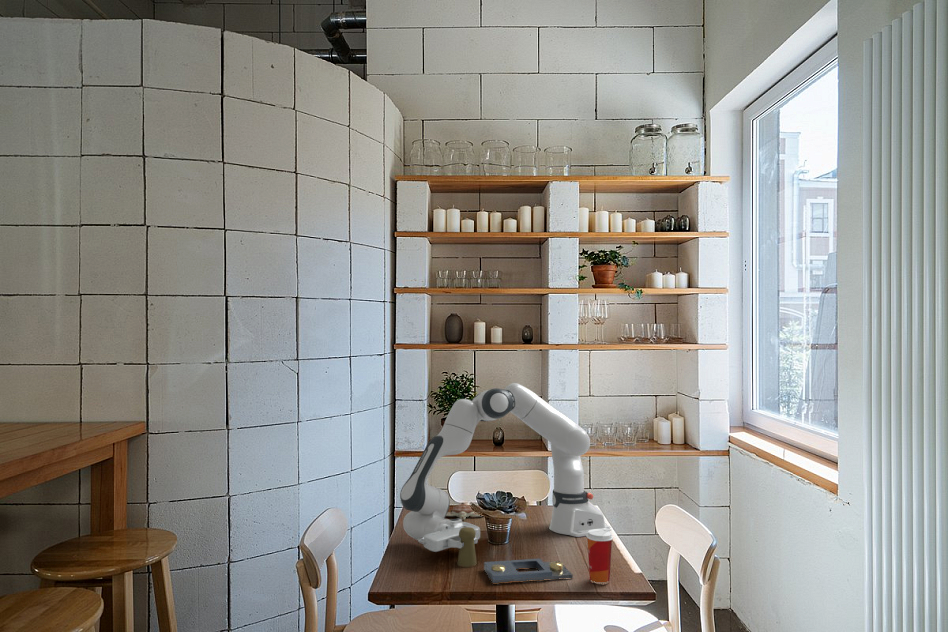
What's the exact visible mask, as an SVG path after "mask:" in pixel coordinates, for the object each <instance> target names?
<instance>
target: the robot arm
mask: <svg viewBox="0 0 948 632" xmlns="http://www.w3.org/2000/svg"><path fill="white" fill-rule="evenodd" d="M509 413H510V414H513V415H514V416H515V417H516V418H518V419H519V420H520V421H522V422H523V423H524V424H525V425H526V426H527V427H529V428H530V429H532V430H533V431H535V433H537V434H539V435H540V436H541V437H543V439H545V440H547V441H548V442H550V450H551V458H552V464H553V490H552V495H551V497H552V499H551V503H552V514H551V520H550V524H549V531H551V532H554V533H556V534H561V535H567V536H571V537H575V538H576V537H577V538H580V537H586V535H587V534H588V531H589V530H592V529H602V530H606V531H611V532H612V529H610V528H611V526H610V525H609V524H608V523H606V521H605V517H604V514H603V512H602V511H601V510H600V509H599V508H598V507H596V506H595V505H594V504H593V503H592V502H591V501H589V500H593V498H594V495H593V494H592V493H591V492H587V491H586V490H585V488H584V487H585V483H584V482H585V475H584V474H585V471H584V470H585V468H584V466H583V463H582V456H583V455H585V454H586V453H587V452H588V451H589V450H590V447H591V438H590V436H589V435H588V433H587V431H586V430H585V429H584V428H582V427H581V426H580V425H579V424H577V423H576V422H575V421H573V420H572V419H570V418H569V417H567V416H566V415H565V414H564V413H562V412H560V411H559V410H558V409H556V408H554V407H553V406H552V405H551V404H549V403H548V402H547V401H546V400H544V399H543V398H541V396H539V395H538V394H537V393H535V392H534V391H532V390H531V389H529V388H527V387H526V386H524V385H522V384H520V383H518V382H512V383H510V384H508V385H507V386H506V387H504V389H503V388H498V387H497V388H490V389H487V390H483V391H482V392H480V393H479V394H477V395H475V396H474V397H473V398H472V399H468V398H460V399H457V400H456V401H455V402H454V403H453V404H452V407H451V409H450V410H449V412H448V414H447V417H446V419H445V421H444V424H443V426H442V428H441V430H440V431H439V433H438V434H437V435H436V436H433V437H432V438H431V439H429V441H428V442H427V444H426V446H425V448H424V450H423V451H422V453H421V456H420V457H419V459H418V461H417V463H416V465H415V467H414V469H413V471H412V473H411V474H410V476H409V477H408V479H407V480H406V481H405V483H404V484H403V485H402V487H401V489H400V493H399V499H400V503H401V505H402V507H403V508H404V509H405V510H407V511H409V512H408V513H407V514H406V515H405V516H404V518H403V521H402V524H403V525H402V526H403V529H404V531H405V533H406V534H407V535H408V536H409V537H411V538H413V539H414V540H416V541H418V543H419V544H422V545H423V548H425V549H426V550H429V551H430V552H435V553H437V552H441V551H444V550H447V549H450V548H456V549H459V548H463V547H464V542H463V541H461V539H460V537H459V531H460V529H461V528H464V527H471V528H473V529H474V530H475V532H476V535H475V538H474V545H475V544H478V540H480V539H481V529H480V527H479V526H478V525H475V524H472V523H470V522H467V521H463V520H461V519H460V518H451V519H448V518H446V517H447V516H446V515H447V513H449V509H450V504H451V502H450V500H451V499H450V495H449V494H448V492H447V491H446V490H443V489H441V488H439V487H437V486H433V485H431V484H428V479H429V478H430V475H431V473H432V472H433V470H434V467H435V466H436V463H437V462H438V461H439V460H440V459H441V458H442V457H445V456H456V455H460V454H462V453H464V452H465V451H466V450H468V449H469V447H470V446H471V443H472V440H473V436H474V433H475V430H476V428H477V426H478V424H479V422H492V421H494V422H495V421H496V420H499V419H502V418H504V417H505V416H507V415H508V414H509ZM607 524H608V525H609V526H608V525H607Z"/></svg>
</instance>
